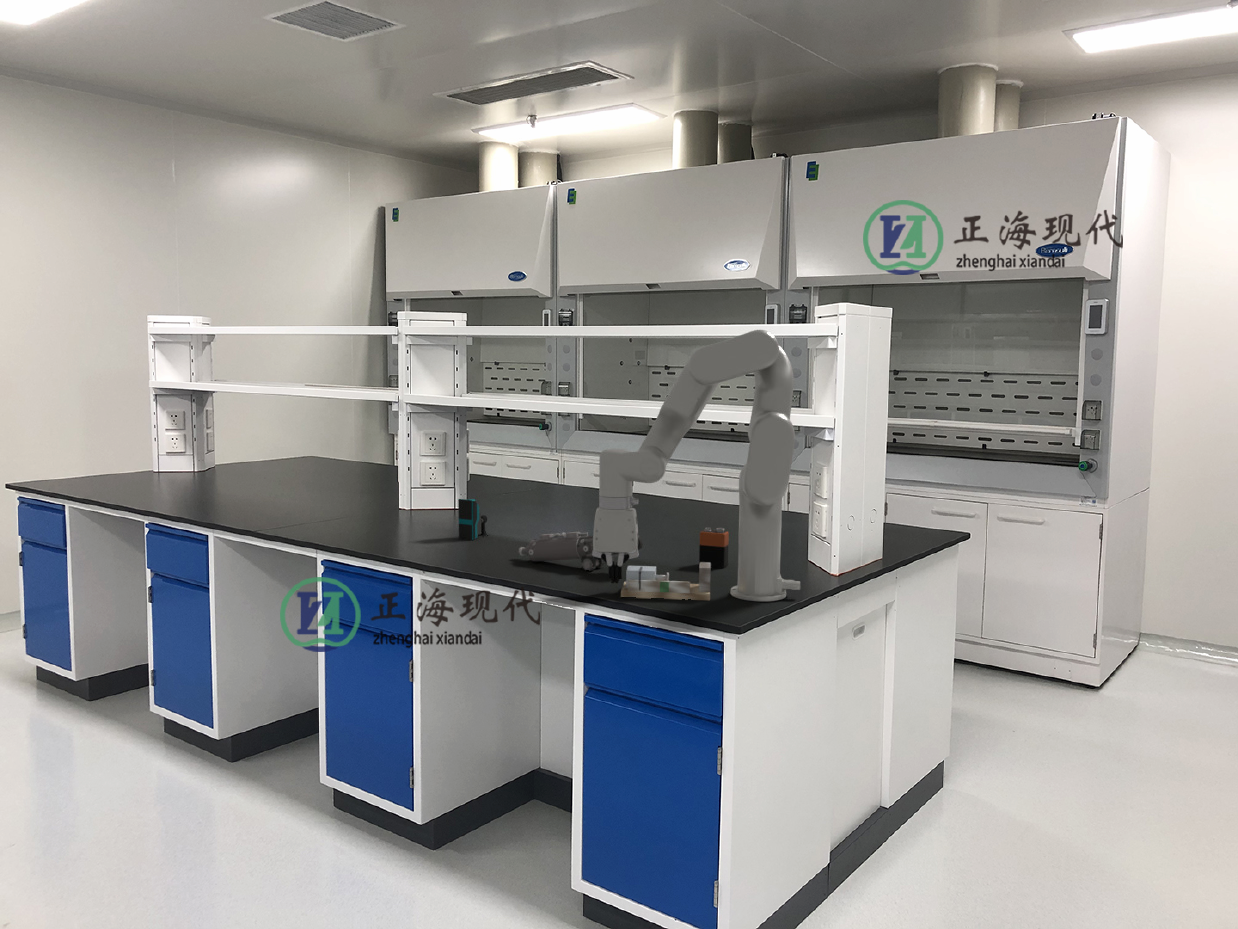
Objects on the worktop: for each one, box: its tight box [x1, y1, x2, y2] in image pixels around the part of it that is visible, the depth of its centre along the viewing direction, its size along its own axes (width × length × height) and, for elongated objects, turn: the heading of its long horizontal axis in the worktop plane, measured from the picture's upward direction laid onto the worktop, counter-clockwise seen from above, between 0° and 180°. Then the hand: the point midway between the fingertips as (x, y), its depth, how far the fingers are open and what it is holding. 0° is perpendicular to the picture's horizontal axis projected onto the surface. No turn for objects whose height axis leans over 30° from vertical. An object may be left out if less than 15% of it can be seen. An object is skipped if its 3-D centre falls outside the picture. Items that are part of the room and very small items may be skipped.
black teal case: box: [457, 498, 488, 541], centre depth 280 cm, size 6×12×10 cm
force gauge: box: [625, 565, 670, 588], centre depth 213 cm, size 10×8×4 cm
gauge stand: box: [620, 562, 712, 601], centre depth 214 cm, size 20×9×7 cm, turn 85°
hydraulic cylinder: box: [517, 531, 644, 572], centre depth 241 cm, size 7×37×10 cm, turn 60°
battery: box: [698, 527, 730, 569], centre depth 244 cm, size 4×7×10 cm, turn 67°
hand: (615, 581), depth 215 cm, fingers closed
